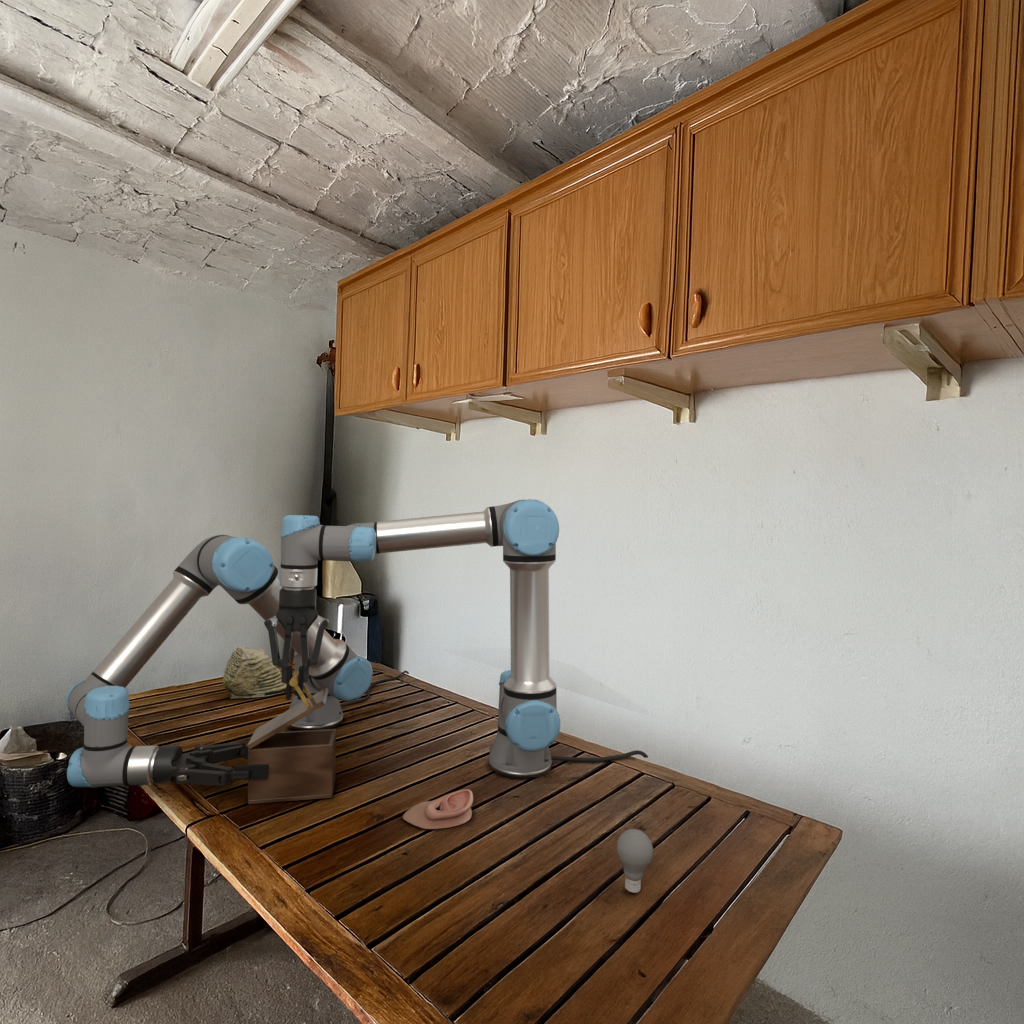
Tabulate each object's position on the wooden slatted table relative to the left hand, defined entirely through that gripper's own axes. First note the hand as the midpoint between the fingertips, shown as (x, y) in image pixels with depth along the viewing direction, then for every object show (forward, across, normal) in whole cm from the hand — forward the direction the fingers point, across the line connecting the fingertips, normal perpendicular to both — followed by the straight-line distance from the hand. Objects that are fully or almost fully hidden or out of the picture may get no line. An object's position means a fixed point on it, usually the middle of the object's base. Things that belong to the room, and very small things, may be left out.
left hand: (272, 761), depth 134 cm
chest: (+5, 0, -6) cm, 8 cm away
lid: (+3, 0, +9) cm, 10 cm away
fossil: (-16, -68, -7) cm, 70 cm away
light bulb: (+64, +43, -7) cm, 77 cm away
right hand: (+4, 0, +14) cm, 14 cm away
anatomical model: (+34, +14, -7) cm, 38 cm away
